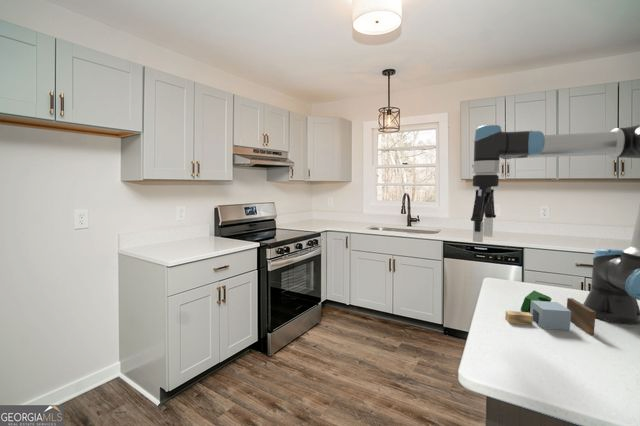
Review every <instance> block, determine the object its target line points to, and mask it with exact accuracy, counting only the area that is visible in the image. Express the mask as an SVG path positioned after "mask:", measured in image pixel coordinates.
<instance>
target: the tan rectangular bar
mask: <svg viewBox="0 0 640 426" xmlns="http://www.w3.org/2000/svg"><path fill="white" fill-rule="evenodd" d="M504 314H505V317H504V319H505V320H506V322H507V323H508V324H509V323H511V324H520V325H521V324H522V325H533V323H534V322H533V321H534V320H533V316H532V315H531V314H530V311H529V312H523V311H515V310H514V311H513V310H505V313H504Z"/></svg>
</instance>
